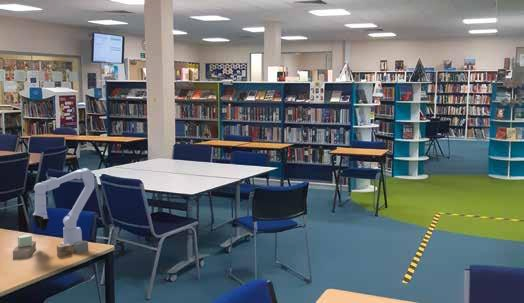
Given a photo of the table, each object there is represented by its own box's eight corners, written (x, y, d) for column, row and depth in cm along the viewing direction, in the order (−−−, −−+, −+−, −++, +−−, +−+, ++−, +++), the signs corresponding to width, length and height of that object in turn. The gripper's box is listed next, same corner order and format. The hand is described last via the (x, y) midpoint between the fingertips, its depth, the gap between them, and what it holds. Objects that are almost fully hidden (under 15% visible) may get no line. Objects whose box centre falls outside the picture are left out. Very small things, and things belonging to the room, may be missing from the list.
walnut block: (68, 252, 277) (67, 243, 276) (71, 254, 274) (71, 245, 273) (57, 254, 272) (56, 245, 272) (60, 256, 270) (59, 247, 269)
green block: (30, 243, 278) (29, 234, 277) (32, 245, 275) (31, 236, 274) (18, 245, 274) (17, 236, 274) (20, 247, 271) (19, 238, 271)
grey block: (85, 249, 282) (84, 240, 281) (88, 251, 279) (88, 242, 278) (74, 251, 278) (74, 242, 277) (77, 253, 275) (77, 244, 274)
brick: (29, 258, 268) (29, 249, 267) (12, 259, 266) (11, 250, 265) (36, 248, 284) (36, 240, 283) (20, 249, 282) (19, 241, 282)
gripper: (28, 203, 284) (29, 227, 286) (37, 208, 274) (38, 233, 275) (41, 202, 289) (41, 225, 291) (51, 206, 279) (51, 230, 280)
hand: (41, 229), depth 283 cm, fingers open, 7 cm apart
